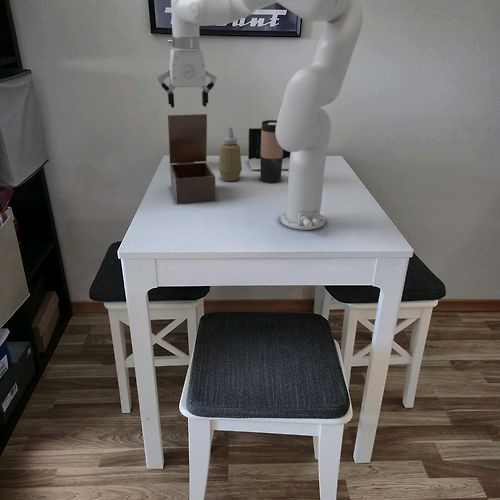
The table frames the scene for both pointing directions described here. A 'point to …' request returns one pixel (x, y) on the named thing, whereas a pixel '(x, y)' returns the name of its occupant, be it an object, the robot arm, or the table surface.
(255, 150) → the laptop
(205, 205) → the table surface
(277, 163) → the travel mug
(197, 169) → the box
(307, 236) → the table surface
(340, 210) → the table surface
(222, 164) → the squeeze bottle
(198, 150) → the lid
